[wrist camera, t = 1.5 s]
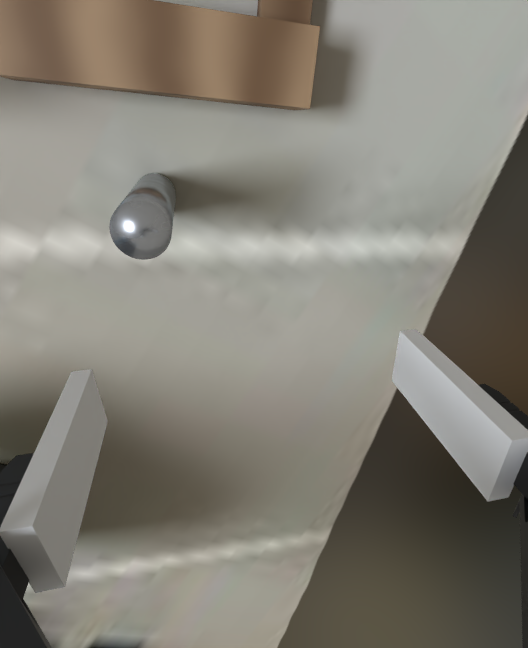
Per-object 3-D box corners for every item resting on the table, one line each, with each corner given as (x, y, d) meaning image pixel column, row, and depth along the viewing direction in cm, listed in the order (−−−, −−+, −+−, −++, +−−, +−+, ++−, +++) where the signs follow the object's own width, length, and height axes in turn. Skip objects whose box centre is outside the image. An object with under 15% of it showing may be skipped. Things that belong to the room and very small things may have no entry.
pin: (136, 213, 31) (113, 258, 21) (133, 171, 30) (106, 198, 19) (176, 214, 32) (172, 259, 21) (175, 174, 30) (170, 202, 20)
